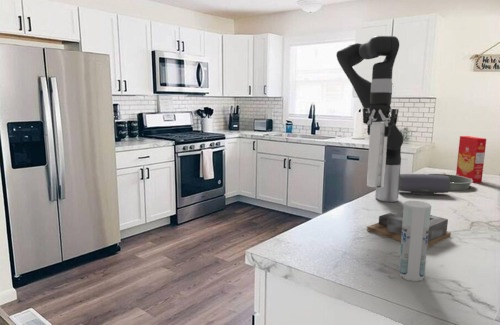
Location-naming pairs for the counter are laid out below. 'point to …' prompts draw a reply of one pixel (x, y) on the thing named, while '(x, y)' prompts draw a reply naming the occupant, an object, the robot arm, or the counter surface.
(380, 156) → the paper towel roll
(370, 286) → the counter surface
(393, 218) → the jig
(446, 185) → the bluetooth speaker
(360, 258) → the counter surface
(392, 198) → the robot arm
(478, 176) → the food packaging
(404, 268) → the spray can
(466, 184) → the cake pan
